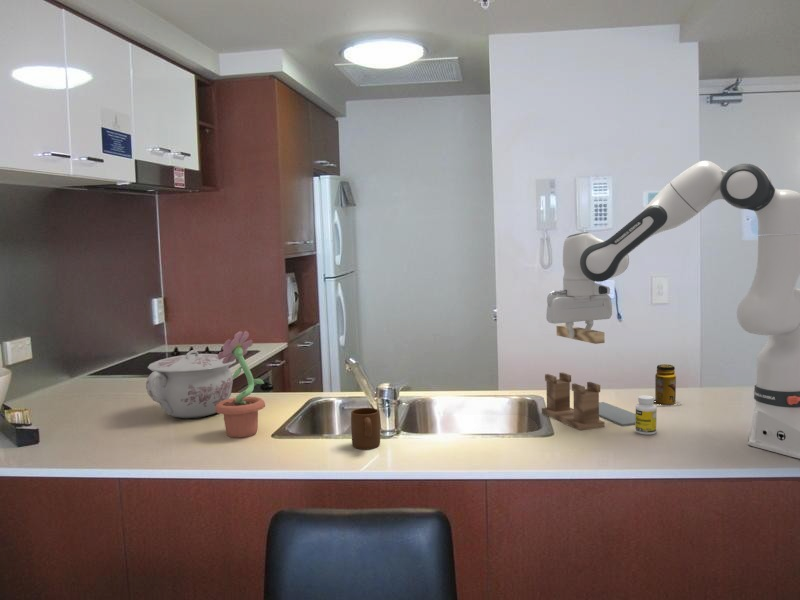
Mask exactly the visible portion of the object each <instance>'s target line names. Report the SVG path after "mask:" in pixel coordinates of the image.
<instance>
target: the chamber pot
mask: <svg viewBox="0 0 800 600" xmlns="http://www.w3.org/2000/svg"><path fill="white" fill-rule="evenodd" d="M218 354H219V353H218ZM218 354H216V353H199V351H197V350H196V349H192V350H190V351H188V352H187V353H186V354H183V355H177V356H171V357H167V358H163V359H162V358H161V359H159V360H156V361H153V362H151V363H149V365H148V366H147V369H149V370H150V371H151V373H150V374H149V376H147V379H146V382H145V390H146V393H147V395H148V396H149V397H150V398H151V399H152V401H153V402H156V403H158V404H159V405H160V406H161V408H162V410H163V411H164V412H166V414H168V415H169V416H171V417H175V418H179V419H187V420H188V419H189V420H190V419H200V418H201V419H202V418H205V417H210V416H213V415H215V414H218V413H217V412H216V410H215V407H216V404H217V403H219V402H220V401H223V400H226V399H230V398H231V396H232V390H233V389H232V388H233V383H234V382H233V379H234V378H233V379H232V377H233V373H232V371H231V370H230V366H232V365H234V364H235V363H237V359H235V360H234V361H233V362H229V363H225V364H223V363H222V361H223V359H224V358H225V357H224V358H222V359H220V360H219V359H218Z"/></svg>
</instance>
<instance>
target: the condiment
mask: <svg viewBox="0 0 800 600" xmlns="http://www.w3.org/2000/svg"><path fill="white" fill-rule="evenodd" d="M675 369H676V368H675V365H672V364H658V365H657V366H656V373H655V377H654V378H655V383H654V384H655V387H654V388H655V389H654V390H655V394H654V397H655V399H654V401H656V402H654V403H653V405H655V406H656V407H665V406H666V407H668V406H669V405H671V406H680V405H682V404H680V403H679V402H676V401H677V400H676V396H677V395H676V391H677V390H676V389H677V376H676V371H675ZM657 404H659V405H657ZM660 404H661V405H660ZM674 404H676V405H674ZM677 404H678V405H677ZM667 405H668V406H667Z"/></svg>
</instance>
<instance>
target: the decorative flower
mask: <svg viewBox="0 0 800 600" xmlns="http://www.w3.org/2000/svg"><path fill="white" fill-rule="evenodd" d="M249 335H250V333H249V331H247V330H245V331H244V332H243V331H238V332H236V333H235V334H234V336H233V339H232V340H231V339H227V340H225V342H224V344H223V345H222V348H221V349H222V351H219V353H218V359H219V360H220V359H222V358H224V357H225V358H224V359H223V361H222V363H223V364H225V363H229V362H233V361H234V360H235V359H236V360H237V361H238V364H239V365H240V366H239V367H238V368H237V369H236V370H235V371H234V373H232V379H235V378H237V377H238V376H239V375H240V374H241V372H242V371H243V374H244V375H245V377H246V381H247V388H246V389H245V390H243V391H241V392H240V393H239V394H237V396H236V397H232V398H231V397H230V398H229V399H226V400H223V401H220V402H219V403H217V404H216V407H215V410H216V412H217V413H216V414H222V415H223V420H224V427H225V433H226V435H227V436H228V437H230V438H234V439H235V438H238V439H239V438H247V437H252V436H254V435H255V434H256V433H257V432H258V429H259V428H258V427H259V413H258V412H259V411H260V410H263V409H264V408H265V407H266V402H265V401H264V399H262V398H261V397H256V396H249V395H251V394H252V393H253V391H254V389H255V388H254V387H255V384H257V385H264V384H265V382H264V380H263V379H261V378H254V376H253V373H252V371H251V369H250V367H249V365H248V364H247V362H246V359H245V358H244V356H245V355H247V353H248V348H251V347H252V346H253V342H254V341H253V340H252V339H249V340H248V338H249ZM246 340H247V341H246Z"/></svg>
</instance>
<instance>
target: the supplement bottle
mask: <svg viewBox="0 0 800 600" xmlns="http://www.w3.org/2000/svg"><path fill="white" fill-rule="evenodd" d="M654 397H655V396H651V395H639V396H638V397H637V398H638V399H637V400H638V403H637V404H636V405H635V414H636V423H635V425H634V427H635V428H634V429H635V432H636V433H637V434H641V435H648V436H649V435H650V436H651V435H655V434H656V433H657V406H655V405H653V403H654V400H655V399H654Z"/></svg>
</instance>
